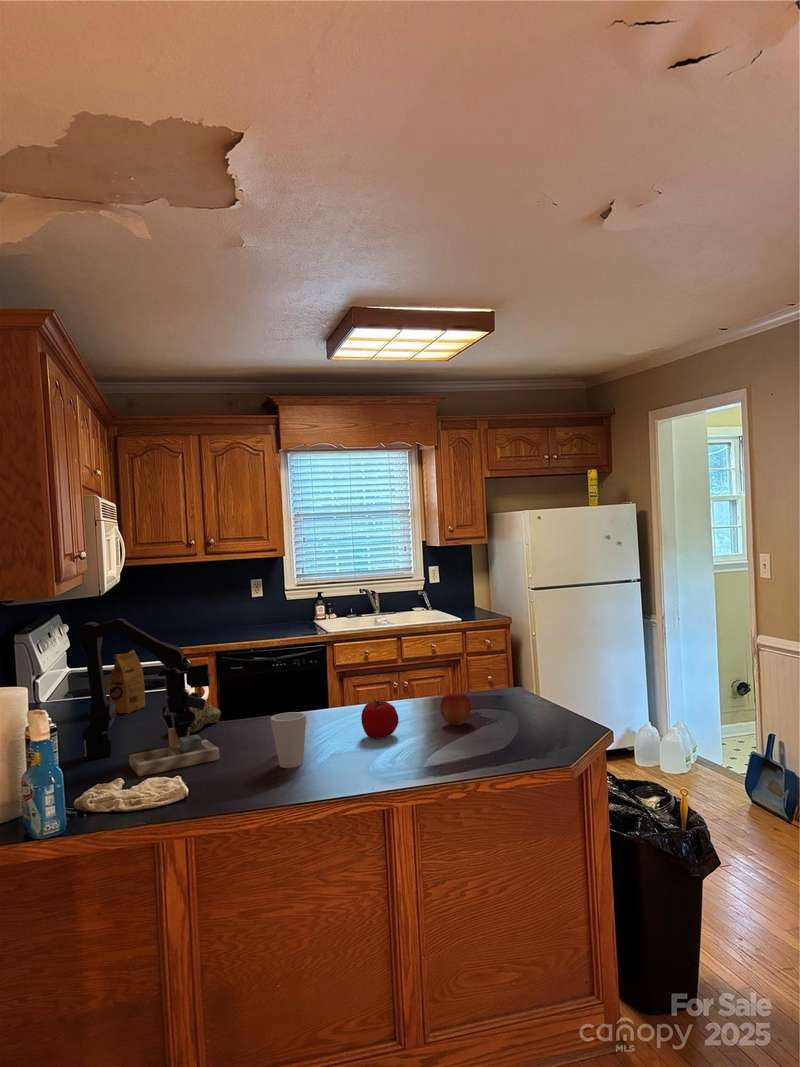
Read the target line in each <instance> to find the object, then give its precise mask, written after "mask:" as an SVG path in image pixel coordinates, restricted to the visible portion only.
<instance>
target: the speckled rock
mask: <svg viewBox="0 0 800 1067" xmlns="http://www.w3.org/2000/svg"><path fill="white" fill-rule="evenodd" d="M189 710H191V711H192V712H193V713H195V718H196V720H195V721H194V722H193V723H192V724H191V725H190V726H189V727H188V728H189V734H192V733H196V732H199V731H200V730H201V729H202V728H203V727H204V726H205V725H209V724H210V723H211V724H212V723H216V722H217V721H218V720H219V719H220V717H221V715H222V712H221V710H220V709H219V708H217V707H215V706H213V705H210V704H205V706H204V709H203V710H199V709H197V708H190V709H189Z"/></svg>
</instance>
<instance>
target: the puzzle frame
mask: <svg viewBox="0 0 800 1067" xmlns="http://www.w3.org/2000/svg"><path fill="white" fill-rule="evenodd" d="M179 743H180V745H177V746H172V747H169V746H167V747H163V748H158V749H157V748H156V749H153V750H147V751H142V752H137V753H132V754H129V755H128V758H129V759H128V760H129V766H130V768H131V769H132V770H133V771H134V772H135V773H136V774H137V776H138V777H143V776H148V775H152V774H157V773H158V774H159V773H161V772H166V771H171V770H176V769H180V768H185V767H190V766H194V765H200V764H204V763H208V762H214V761H218V760H220V759H221V758H220V748H219V747H218V746H216V745H214V744H213V743H212V742H210V741H209V740H207V739H202V737H200V735H198V734H193V735H192V734H191V735H189V736H186V737H181V738H179Z"/></svg>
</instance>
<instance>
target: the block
mask: <svg viewBox="0 0 800 1067" xmlns="http://www.w3.org/2000/svg"><path fill="white" fill-rule="evenodd" d="M167 730H168V731H167V732H168V733H167V735H168V747H172V746H177V745H180V743H179V739H178V736H177V734H176V732H175V730H174V728H169V729H168V728H167ZM187 736H190V733H189V728H188V731H187Z"/></svg>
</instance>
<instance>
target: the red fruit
mask: <svg viewBox="0 0 800 1067" xmlns="http://www.w3.org/2000/svg"><path fill="white" fill-rule="evenodd" d="M360 715H361V718H360V720H361V725H362V729H363V731H364V733H365V735H366V736H367V737H368V738H370V739H383V738H388V737H390V736H391V735H392V734H393V733H394V732H395V731H396V729H397V727H398V725H399V715H398V712H397V709H396V707H395V706H394V705H393V704H391V703H390V702H387V700H386V701H384V700H376V699H375V698H373V702H368V703H366V704H365V706H364V707H363V709H362V711H361V714H360Z"/></svg>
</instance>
